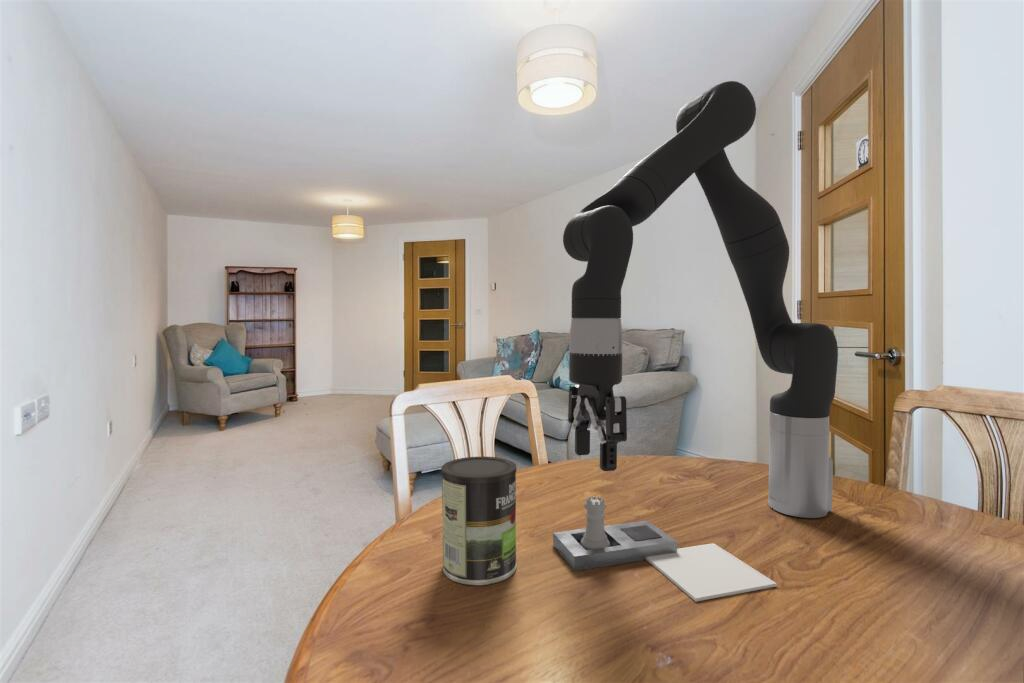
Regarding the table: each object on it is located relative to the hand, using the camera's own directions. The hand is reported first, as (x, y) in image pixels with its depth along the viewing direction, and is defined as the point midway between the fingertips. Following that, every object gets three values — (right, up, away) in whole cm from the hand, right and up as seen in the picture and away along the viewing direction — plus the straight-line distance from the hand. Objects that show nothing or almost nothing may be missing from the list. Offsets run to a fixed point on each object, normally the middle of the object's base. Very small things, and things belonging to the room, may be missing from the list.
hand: (594, 461), depth 72 cm
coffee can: (-16, -14, -3) cm, 22 cm away
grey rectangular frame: (+3, -13, +1) cm, 14 cm away
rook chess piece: (0, -14, +1) cm, 14 cm away
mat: (+14, -14, -5) cm, 20 cm away
